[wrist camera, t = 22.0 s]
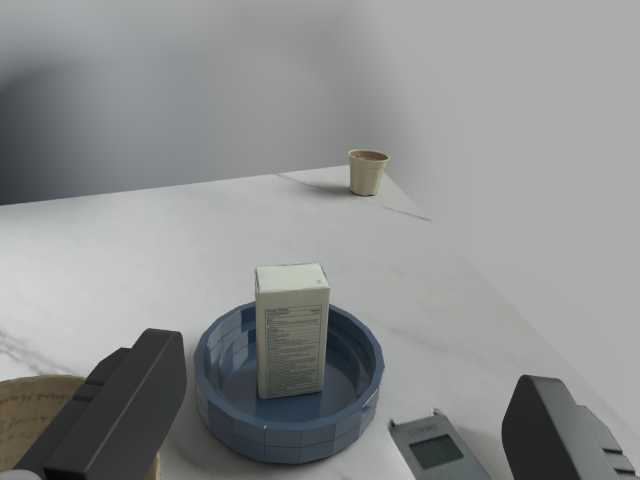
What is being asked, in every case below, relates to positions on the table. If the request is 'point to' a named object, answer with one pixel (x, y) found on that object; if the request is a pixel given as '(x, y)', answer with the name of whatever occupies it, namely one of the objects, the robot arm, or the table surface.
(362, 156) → the flower pot
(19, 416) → the bowl
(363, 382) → the serving bowl
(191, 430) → the table surface
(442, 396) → the table surface
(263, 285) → the cosmetic box
